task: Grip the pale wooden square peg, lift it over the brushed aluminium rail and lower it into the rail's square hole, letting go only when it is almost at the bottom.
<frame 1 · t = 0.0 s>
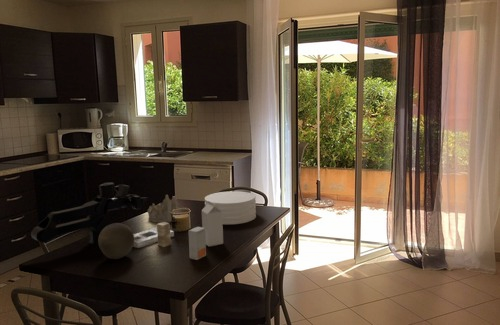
hand: (142, 197, 200), 17 cm above the table, fingers open, 9 cm apart
wooden peg: (164, 244, 178), on the table
ceramic cottage: (165, 218, 220), on the table
milk carton: (213, 243, 179), on the table
cantaloupe: (118, 259, 163), on the table
rack rail: (149, 239, 186), on the table
plate stack: (230, 217, 220), on the table
skincare box: (198, 257, 163), on the table
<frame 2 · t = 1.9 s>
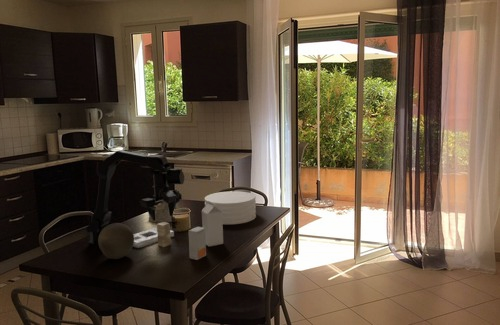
hand: (162, 218, 176), 12 cm above the table, fingers open, 9 cm apart
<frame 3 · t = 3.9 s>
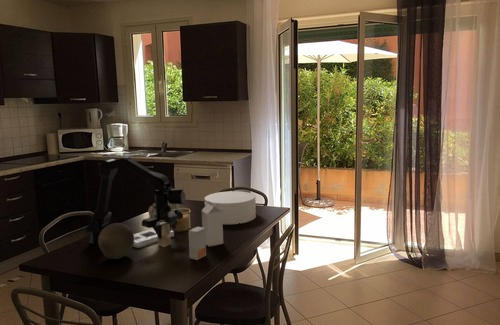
hand: (164, 237, 178), 4 cm above the table, fingers closed on wooden peg, 4 cm apart
wooden peg: (164, 244, 178), on the table, touching gripper
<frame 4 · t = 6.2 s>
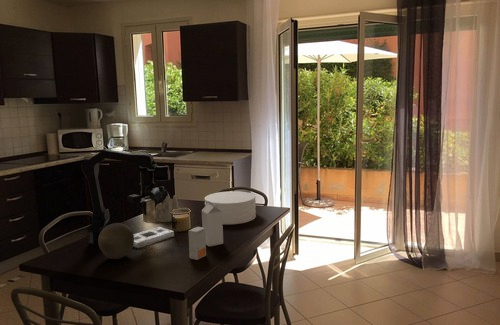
hand: (148, 214, 183), 13 cm above the table, fingers closed on wooden peg, 4 cm apart
wooden peg: (149, 221, 184), point 9 cm above the table, touching gripper
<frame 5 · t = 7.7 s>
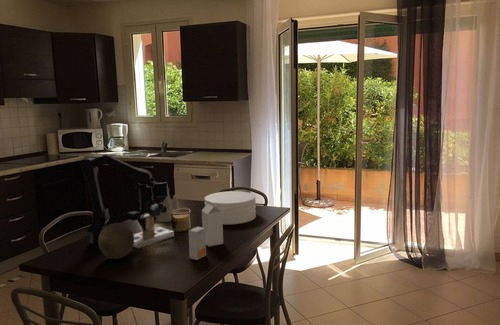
hand: (148, 229, 185), 5 cm above the table, fingers closed on wooden peg, 4 cm apart
wooden peg: (148, 237, 186), point 1 cm above the table, touching gripper
when the fingers open (4 cm above the table, at t = 8.7 s): wooden peg stays where it is, resting in rack rail.
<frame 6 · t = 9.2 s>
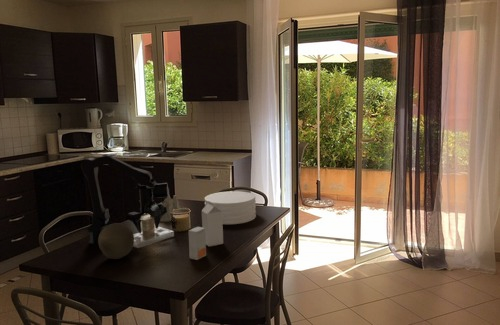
hand: (148, 230, 185), 4 cm above the table, fingers open, 9 cm apart
wooden peg: (149, 239, 186), resting in rack rail
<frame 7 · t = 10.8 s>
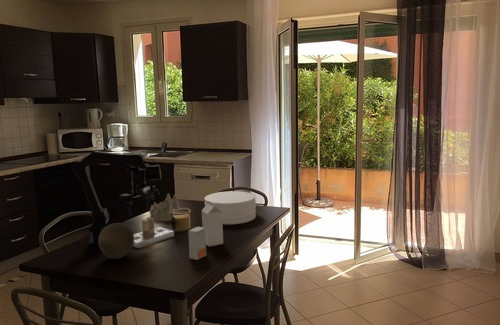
hand: (140, 213, 185), 13 cm above the table, fingers open, 9 cm apart
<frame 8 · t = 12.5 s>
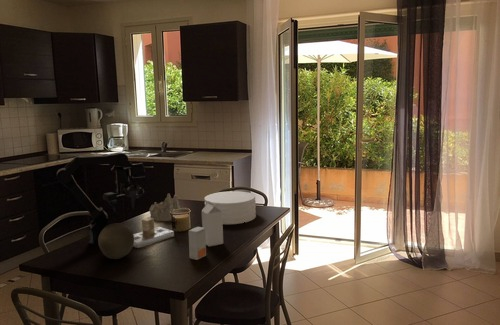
hand: (125, 211, 188), 13 cm above the table, fingers open, 9 cm apart
at the end: wooden peg 0.1 cm off-centre on the rack rail, point 0.0 cm above the rack rail's base; wooden peg tilted 0°; the gripper is holding nothing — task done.
